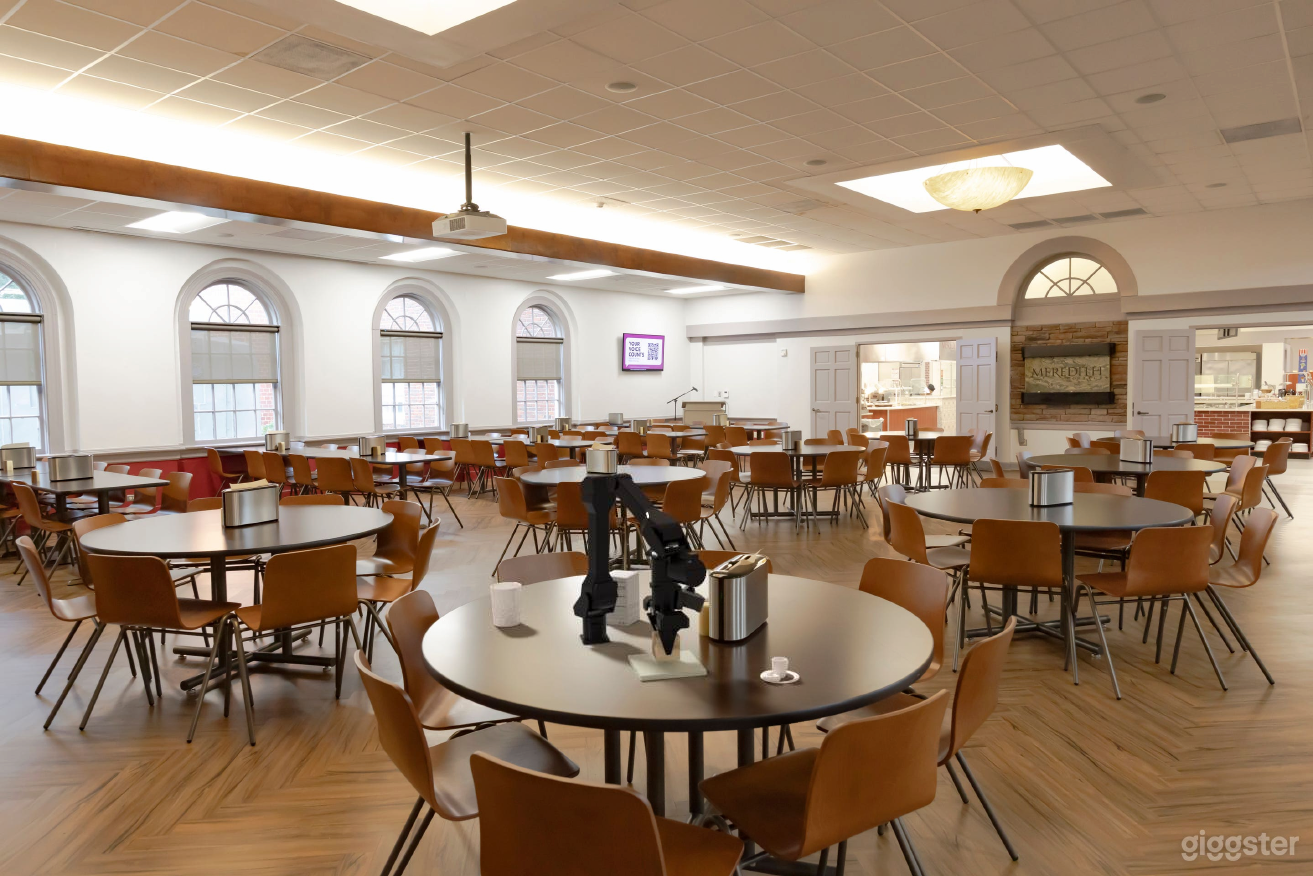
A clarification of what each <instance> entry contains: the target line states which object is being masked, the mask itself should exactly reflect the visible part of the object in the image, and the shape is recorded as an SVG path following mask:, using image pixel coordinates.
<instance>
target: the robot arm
mask: <svg viewBox="0 0 1313 876" xmlns="http://www.w3.org/2000/svg"><path fill="white" fill-rule="evenodd" d="M579 490H580V497H581V498H580V499H581V503H582V504H583V506H584V508H585V510H586V511H587V513H588V514H587V515H588V517H587V518H588V521H587V522H588V523H587V525H588V526H587V527H588V528H587V529H588V533H587V534H588V535H587V540H588V541H587V542H588V544H587V545H588V547H587V549H588V550H587V551H588V552H587V553H588V554H587V558H588V560H587V562H588V563H587V565H588V566H587V568H588V569H587V570H588V571H587V574H586V575H585V578H584V580H583V581H582V583H581V585H580V587H581V588H580V595H579V596H578V599H577V600H576V601H575V602H574V604H573V606H572V609H573V614H574V616H575V617H579V618H582V620H581V621H582V633H581V634H579V638H580V640H581V642H582V644H585V645H586V644H597V643H598V644H599V643H609V642H611V639H610V637H609V635H608V632H607V624H606V614H608V613H614V610H615V605H616V601H617V598H618V591H617V590H618V583H617V581H614V580H613V578H612V577H611V575H610V513H611V511H612V509H613V507H614V505H615V504H616V502H617V498H618V499H619V500H620V501H621V502H622V504H623V505H624V506H625V508H627V510H628V511H629V512H630V513H631V515H632V516H633V517H634V518H635V520H637V521H638V523H639V525H640V531H641V535H642V537H643V539H644V541H645V542H646V544H647V545H648V546H649V549H648V550H646V551H645V552H644V556H646V557H649V558H650V561H651V562H650V566H651V567H650V568H651V569H650V570H651V575H650V576H651V581H649V582H648V583H649V588H650V590H651V595H646V596H645V597H644V598H643V599H642V608H643V610H644V611H645V612H647V613H645V614H646V617H647V619H648V621H649V624H650V626H651V628H652V631H657V632H658V635H659V637H660V640H661V643H662V646H663V648H664V651H665V653H666V655H671V654H672V650H673V646H674V642H675V638H676V635H677V633H679V631H680V630H683V629H689V628H690V619H691V618H690V617H688V615H687V614H686V613H684V612H683V610H684V608H686V609H689V610H692V611H695V612H696V613H702V610H703V608H704V605H705V602H706V598H705V597H704V596H703V595H702V594H700V593H698V592H696V588H698V587H700V586H701V585H702V584H703V583H704V582H705V580H706V577H707V568H706V565H705V563H704V562H703V561H702V560H701V559H700V555H699V553H697V552H693V549H692V546H691V543H690V542H689V540H688V538H687V536H686V533H685V532H684V530H683V526H682V524H681V523H680V522H679V520H677V519H676V518H674V517H673V516H672V515H671V514H669V513H667V512H665V511H661V510H660V509H659V508H657V507H656V506H655V504H654V503H653V502H652V501H651V500H650V499H649V497H648V496H647V495H646V494H645V493H644V492H643V490H642V489H641V488H640V487H639V486H638V485H637V483H635V481H634V480H633V477H632V475H631V474H630V473H627V472H621V473H612V474H598V475H587V476H585V477H584V478H583V480H581V481H580V486H579ZM682 585H684V587H683V586H682ZM648 611H649V612H648Z"/></svg>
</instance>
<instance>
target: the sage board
mask: <svg viewBox="0 0 1313 876" xmlns="http://www.w3.org/2000/svg"><path fill="white" fill-rule="evenodd" d="M627 660H628V662H629V664H630V665H631V667H632V669H633V671H634V672H635V674H636V675H637V677H638V679H639V680H640V681H641V682H643V681H653V680H663V679H664V680H665V679H675V678H688V677H689V678H690V677H697V676H698V677H699V676H707V669H706V668H705V666H703V664H702V663H701V662H700V661H699V660H698V658H697V657H696V656H695V655H694V653H692V651H691V650H689V649H688V650H680V660H668V661H657V660H656V659H655V657H654V656H653V654H652V652H651V653H650V652H649V653H641V654H630V655H629V654H628V655H627Z"/></svg>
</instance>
